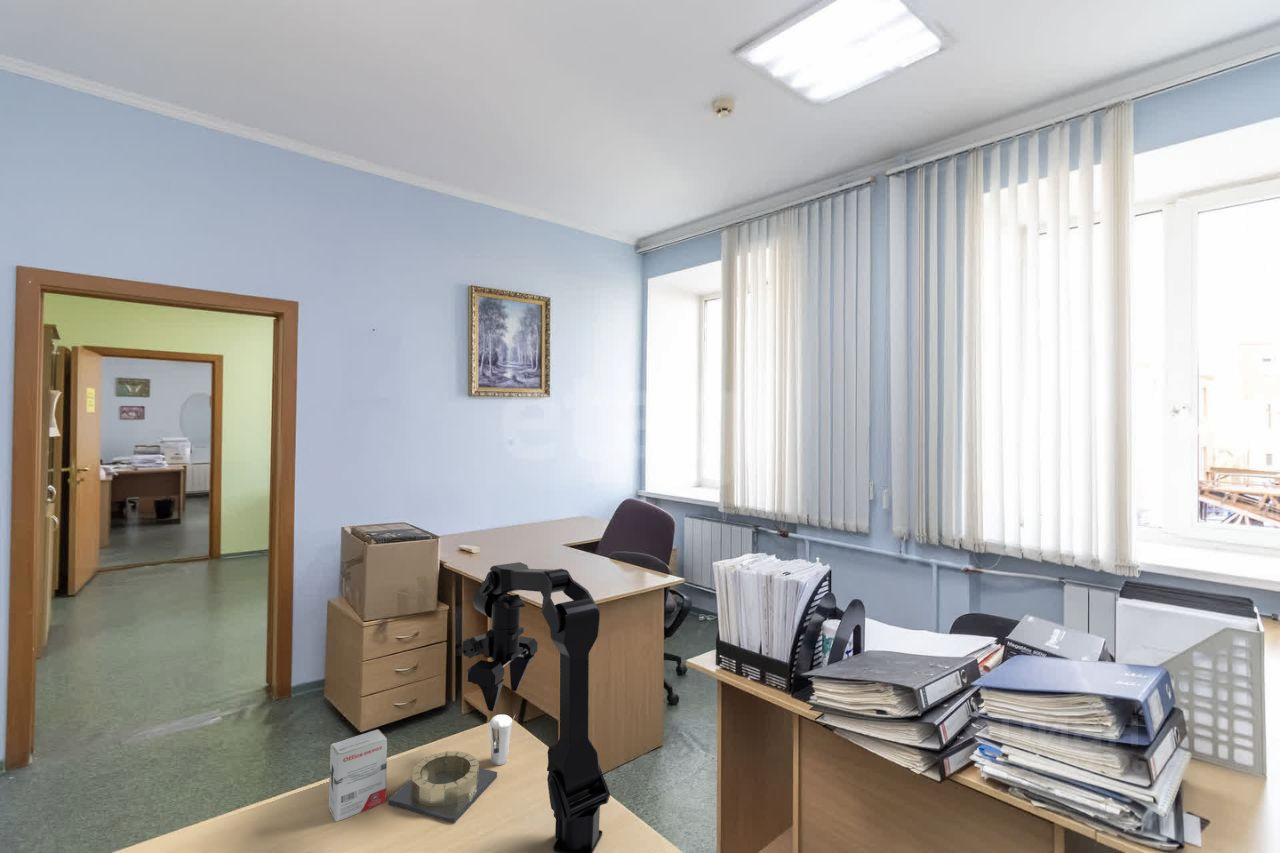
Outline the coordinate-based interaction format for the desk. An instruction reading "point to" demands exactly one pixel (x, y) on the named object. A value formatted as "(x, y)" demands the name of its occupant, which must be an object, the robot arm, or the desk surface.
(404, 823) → the desk surface
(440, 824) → the desk surface
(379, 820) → the desk surface
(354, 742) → the ink box
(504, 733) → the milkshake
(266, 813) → the desk surface
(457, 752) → the collar station
